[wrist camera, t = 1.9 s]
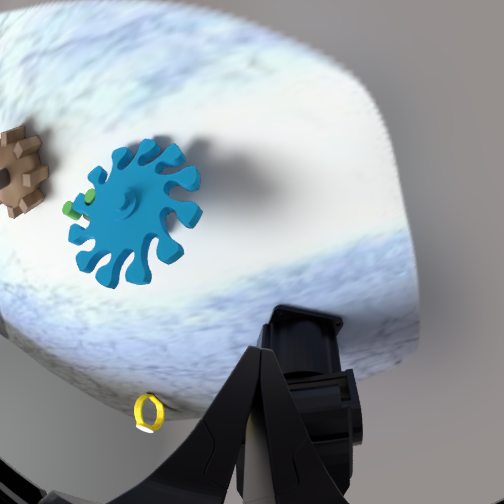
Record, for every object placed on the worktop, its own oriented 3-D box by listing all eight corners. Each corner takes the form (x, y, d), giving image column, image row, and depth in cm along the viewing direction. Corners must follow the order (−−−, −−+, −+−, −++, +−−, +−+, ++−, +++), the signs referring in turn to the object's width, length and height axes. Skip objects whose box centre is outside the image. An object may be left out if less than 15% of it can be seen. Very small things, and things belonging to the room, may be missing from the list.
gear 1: (48, 125, 16) (-8, 144, 11) (52, 213, 21) (7, 247, 15) (1, 128, 16) (-45, 146, 10) (7, 202, 20) (-32, 228, 15)
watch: (171, 406, 38) (163, 437, 33) (158, 405, 38) (150, 435, 33) (150, 389, 34) (140, 423, 30) (136, 388, 35) (126, 421, 30)
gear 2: (216, 132, 15) (168, 305, 13) (235, 180, 20) (205, 311, 18) (86, 139, 17) (39, 264, 15) (122, 173, 22) (89, 279, 20)
